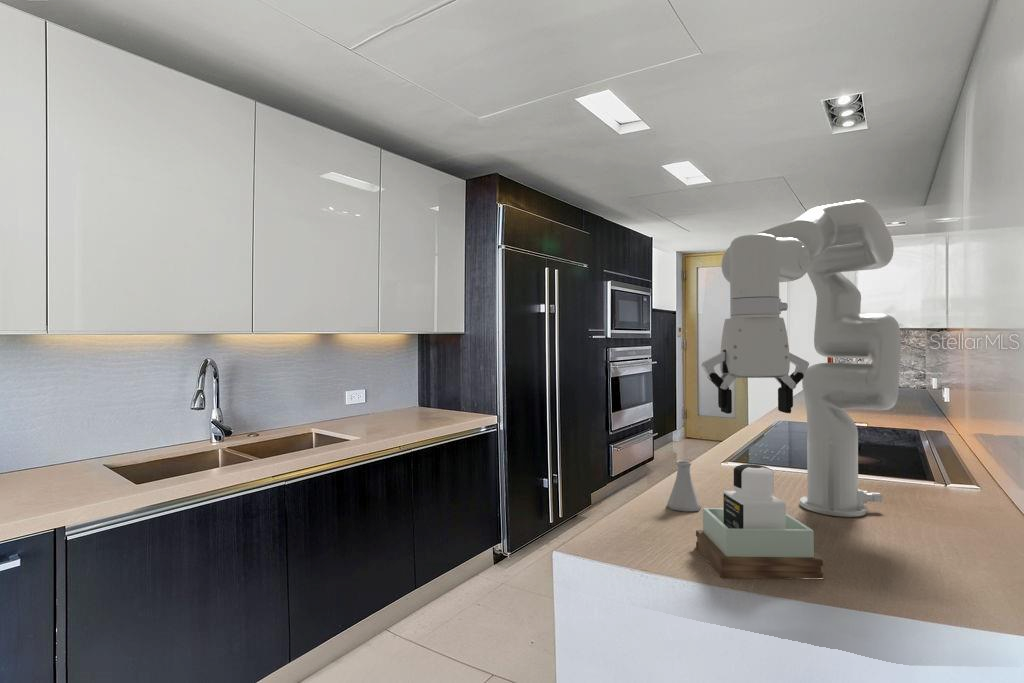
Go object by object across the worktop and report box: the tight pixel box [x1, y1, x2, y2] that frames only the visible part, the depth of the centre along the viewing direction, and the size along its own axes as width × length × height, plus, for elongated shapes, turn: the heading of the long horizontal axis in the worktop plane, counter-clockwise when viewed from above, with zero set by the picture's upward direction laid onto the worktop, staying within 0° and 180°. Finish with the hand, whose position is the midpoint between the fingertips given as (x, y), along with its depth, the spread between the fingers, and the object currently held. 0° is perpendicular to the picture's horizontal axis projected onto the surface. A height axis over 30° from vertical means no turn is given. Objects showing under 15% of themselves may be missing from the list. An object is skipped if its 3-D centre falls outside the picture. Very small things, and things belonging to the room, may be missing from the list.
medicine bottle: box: [723, 463, 787, 529], centre depth 89 cm, size 7×7×12 cm
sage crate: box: [702, 507, 815, 558], centre depth 89 cm, size 13×11×4 cm
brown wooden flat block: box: [695, 529, 824, 580], centre depth 89 cm, size 15×13×3 cm
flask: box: [666, 460, 702, 512], centre depth 119 cm, size 7×7×10 cm
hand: (755, 412), depth 91 cm, fingers open, 9 cm apart
